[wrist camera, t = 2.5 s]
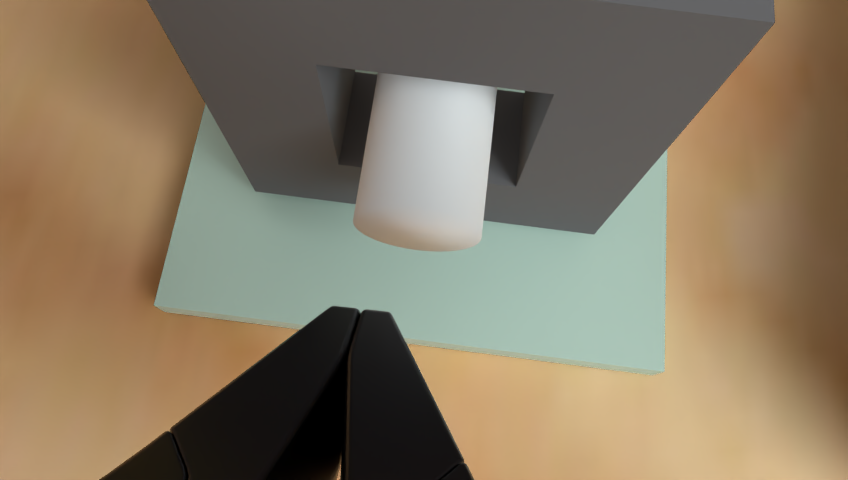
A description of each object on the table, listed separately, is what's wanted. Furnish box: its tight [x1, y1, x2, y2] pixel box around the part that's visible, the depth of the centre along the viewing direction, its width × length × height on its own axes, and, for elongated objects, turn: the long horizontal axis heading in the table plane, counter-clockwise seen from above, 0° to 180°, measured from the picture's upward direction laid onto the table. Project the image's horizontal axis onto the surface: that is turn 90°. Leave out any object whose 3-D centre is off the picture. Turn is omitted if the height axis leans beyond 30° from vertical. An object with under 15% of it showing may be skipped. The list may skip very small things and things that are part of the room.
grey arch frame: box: [147, 0, 775, 235], centre depth 17 cm, size 3×11×11 cm, turn 83°
